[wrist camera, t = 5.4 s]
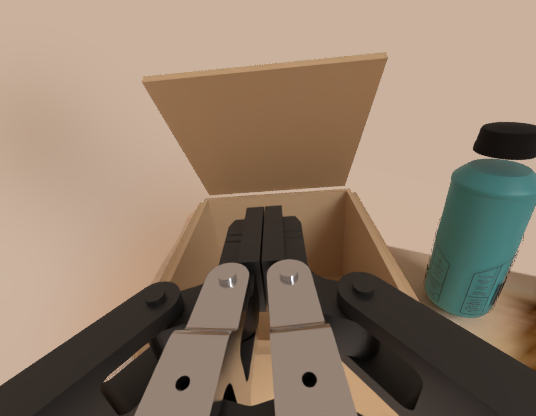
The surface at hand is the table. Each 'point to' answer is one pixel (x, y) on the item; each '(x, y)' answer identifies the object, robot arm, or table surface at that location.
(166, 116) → the carton flap
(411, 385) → the robot arm
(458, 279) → the beverage bottle
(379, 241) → the carton
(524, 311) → the table surface
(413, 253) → the table surface
